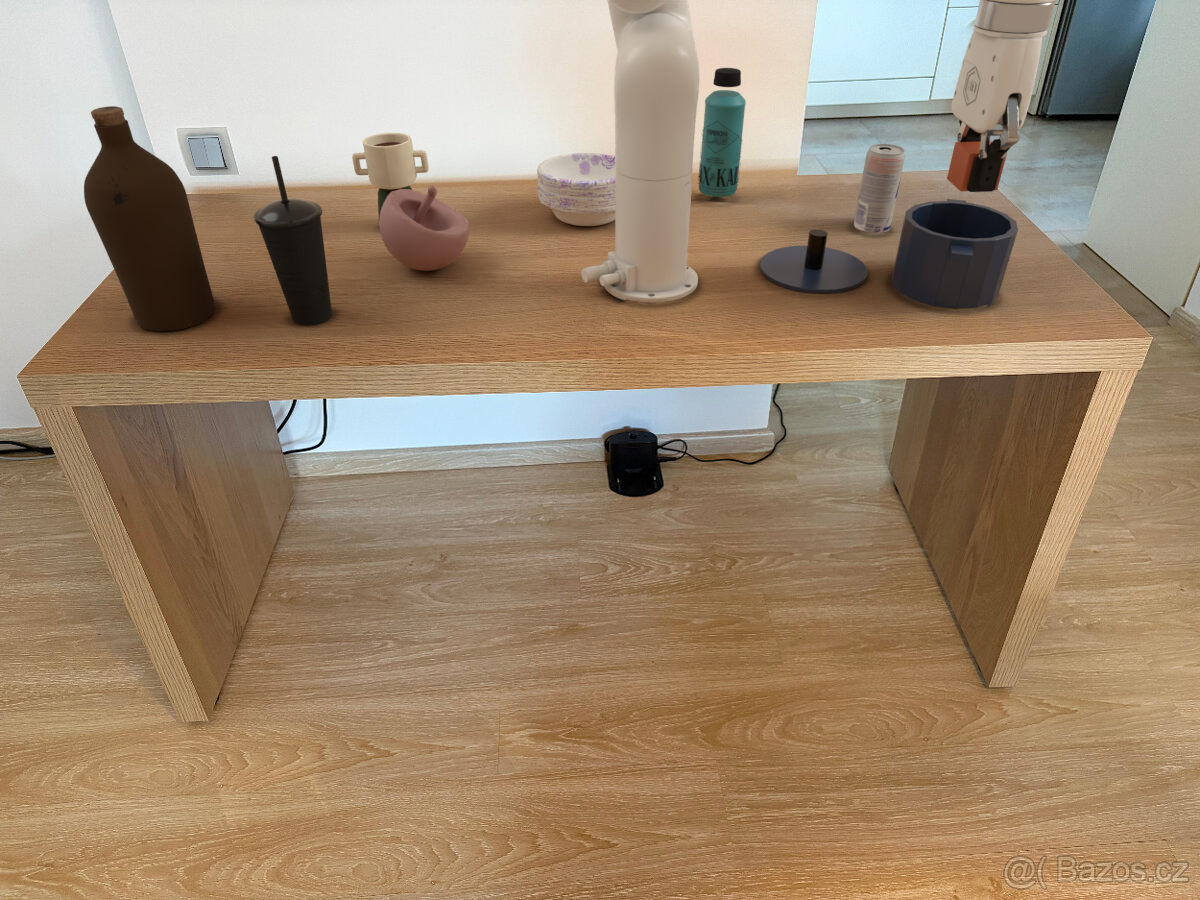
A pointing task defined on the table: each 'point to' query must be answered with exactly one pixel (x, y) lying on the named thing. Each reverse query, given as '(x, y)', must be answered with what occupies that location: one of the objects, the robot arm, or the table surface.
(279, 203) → the drinking cup
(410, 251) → the mortar and pestle
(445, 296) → the table surface
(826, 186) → the table surface
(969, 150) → the block
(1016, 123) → the robot arm
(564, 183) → the paper bowls
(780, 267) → the lid
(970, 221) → the pot
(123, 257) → the olive oil
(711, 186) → the beverage bottle
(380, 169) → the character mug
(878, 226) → the energy drink
